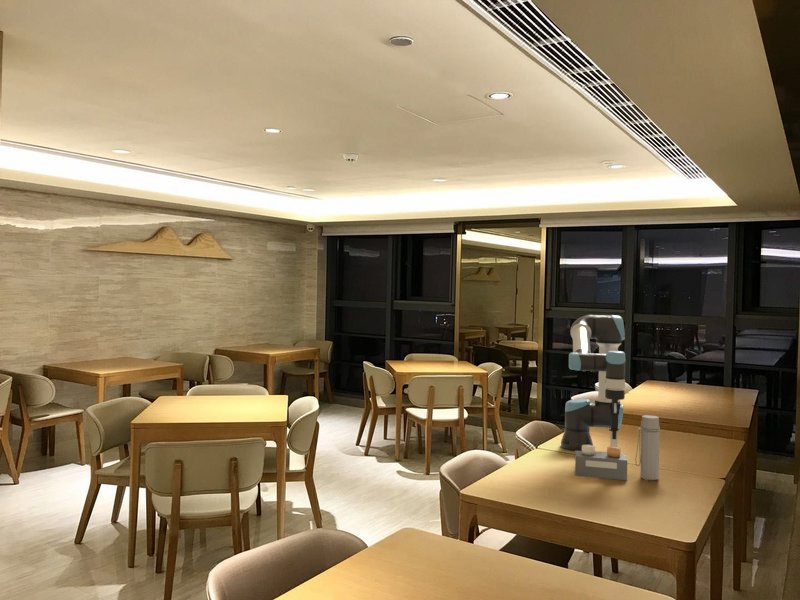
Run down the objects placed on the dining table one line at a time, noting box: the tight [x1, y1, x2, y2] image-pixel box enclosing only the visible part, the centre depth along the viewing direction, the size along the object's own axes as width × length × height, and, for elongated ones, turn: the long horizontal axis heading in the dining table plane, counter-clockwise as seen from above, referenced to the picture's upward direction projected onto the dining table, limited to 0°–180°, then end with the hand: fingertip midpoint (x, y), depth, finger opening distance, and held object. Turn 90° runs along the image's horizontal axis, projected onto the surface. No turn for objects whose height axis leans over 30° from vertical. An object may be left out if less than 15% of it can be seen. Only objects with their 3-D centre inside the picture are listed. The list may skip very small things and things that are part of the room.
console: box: [574, 451, 628, 481], centre depth 263 cm, size 10×20×8 cm, turn 74°
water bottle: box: [635, 414, 661, 481], centre depth 259 cm, size 9×8×25 cm
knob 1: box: [582, 444, 596, 455], centre depth 265 cm, size 5×5×11 cm
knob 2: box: [606, 446, 621, 458], centre depth 262 cm, size 5×5×11 cm
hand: (613, 446), depth 262 cm, fingers closed
